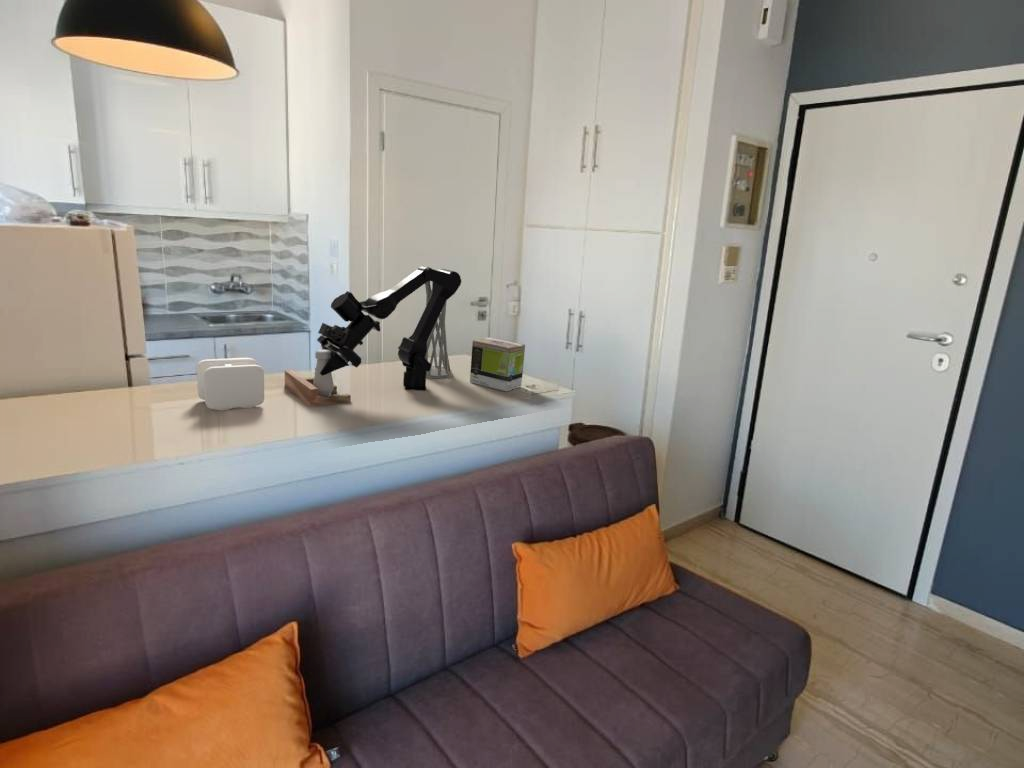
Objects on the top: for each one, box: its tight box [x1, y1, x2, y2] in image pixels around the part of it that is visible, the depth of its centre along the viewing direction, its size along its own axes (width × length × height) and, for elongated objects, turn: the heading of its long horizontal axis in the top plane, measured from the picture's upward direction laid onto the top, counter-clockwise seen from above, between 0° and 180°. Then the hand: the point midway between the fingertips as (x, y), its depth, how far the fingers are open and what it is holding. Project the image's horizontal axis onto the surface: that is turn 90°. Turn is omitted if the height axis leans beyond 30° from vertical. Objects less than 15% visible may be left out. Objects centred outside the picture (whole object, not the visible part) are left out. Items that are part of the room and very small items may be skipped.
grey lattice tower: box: [424, 281, 453, 380], centre depth 208 cm, size 14×13×35 cm
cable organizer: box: [196, 357, 265, 411], centre depth 164 cm, size 15×11×12 cm
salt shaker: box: [313, 348, 335, 397], centre depth 174 cm, size 6×6×13 cm
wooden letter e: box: [284, 369, 351, 408], centre depth 179 cm, size 12×20×5 cm, turn 39°
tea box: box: [469, 336, 526, 392], centre depth 204 cm, size 15×10×15 cm
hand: (318, 372), depth 173 cm, fingers closed on salt shaker, 3 cm apart
